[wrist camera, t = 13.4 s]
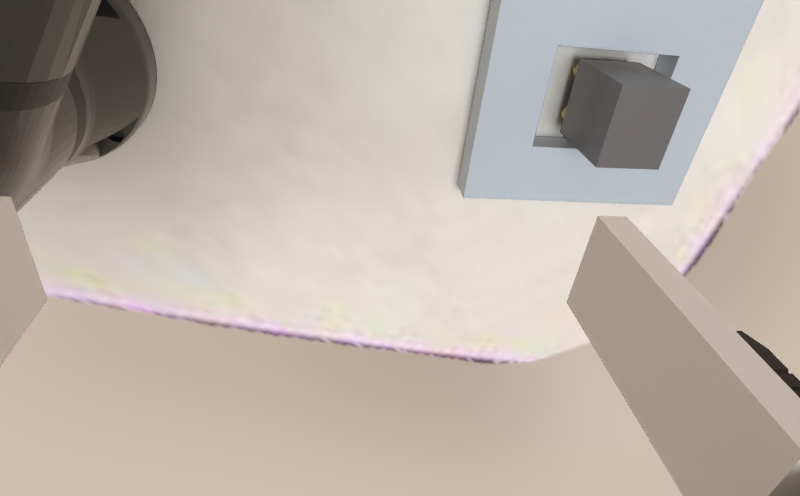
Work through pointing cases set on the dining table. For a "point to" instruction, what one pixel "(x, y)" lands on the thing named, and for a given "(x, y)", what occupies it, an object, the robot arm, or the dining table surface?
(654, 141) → the plug
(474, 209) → the dining table surface
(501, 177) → the socket plate
